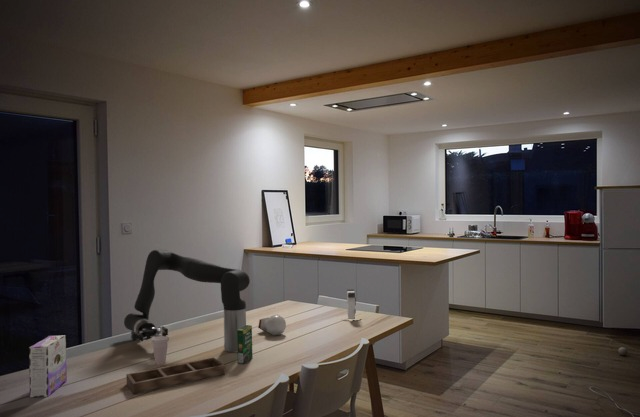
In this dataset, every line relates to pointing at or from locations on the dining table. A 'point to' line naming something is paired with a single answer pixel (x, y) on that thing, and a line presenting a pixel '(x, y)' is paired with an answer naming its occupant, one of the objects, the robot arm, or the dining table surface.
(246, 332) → the coffee box
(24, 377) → the dining table surface
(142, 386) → the tray
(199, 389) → the dining table surface
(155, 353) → the smoothie
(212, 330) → the dining table surface
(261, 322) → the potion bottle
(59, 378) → the candy box
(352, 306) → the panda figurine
